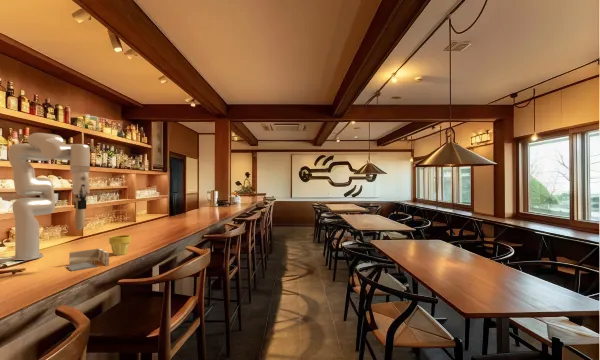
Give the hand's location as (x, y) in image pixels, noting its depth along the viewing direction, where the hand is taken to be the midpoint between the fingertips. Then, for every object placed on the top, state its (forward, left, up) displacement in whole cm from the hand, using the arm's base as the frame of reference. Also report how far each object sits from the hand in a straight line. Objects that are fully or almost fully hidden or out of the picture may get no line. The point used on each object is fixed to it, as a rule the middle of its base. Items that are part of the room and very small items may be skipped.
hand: (80, 208), depth 145 cm
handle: (0, 0, -10) cm, 10 cm away
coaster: (0, +1, -28) cm, 28 cm away
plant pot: (-15, +22, -28) cm, 38 cm away
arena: (-1, +4, -28) cm, 28 cm away
